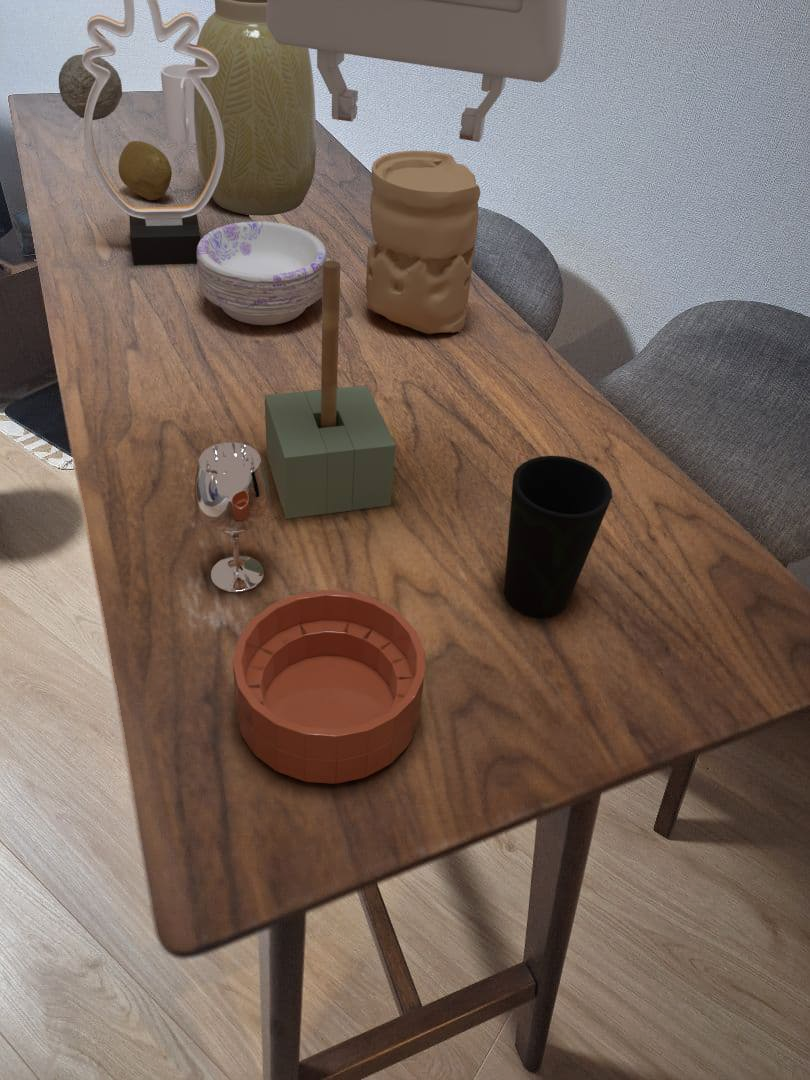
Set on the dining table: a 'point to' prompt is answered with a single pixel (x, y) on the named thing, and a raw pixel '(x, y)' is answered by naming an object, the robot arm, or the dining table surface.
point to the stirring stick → (330, 342)
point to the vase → (256, 113)
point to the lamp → (151, 228)
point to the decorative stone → (88, 87)
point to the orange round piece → (328, 685)
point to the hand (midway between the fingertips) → (407, 128)
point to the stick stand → (328, 453)
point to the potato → (145, 170)
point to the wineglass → (232, 507)
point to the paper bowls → (261, 271)
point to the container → (422, 240)
